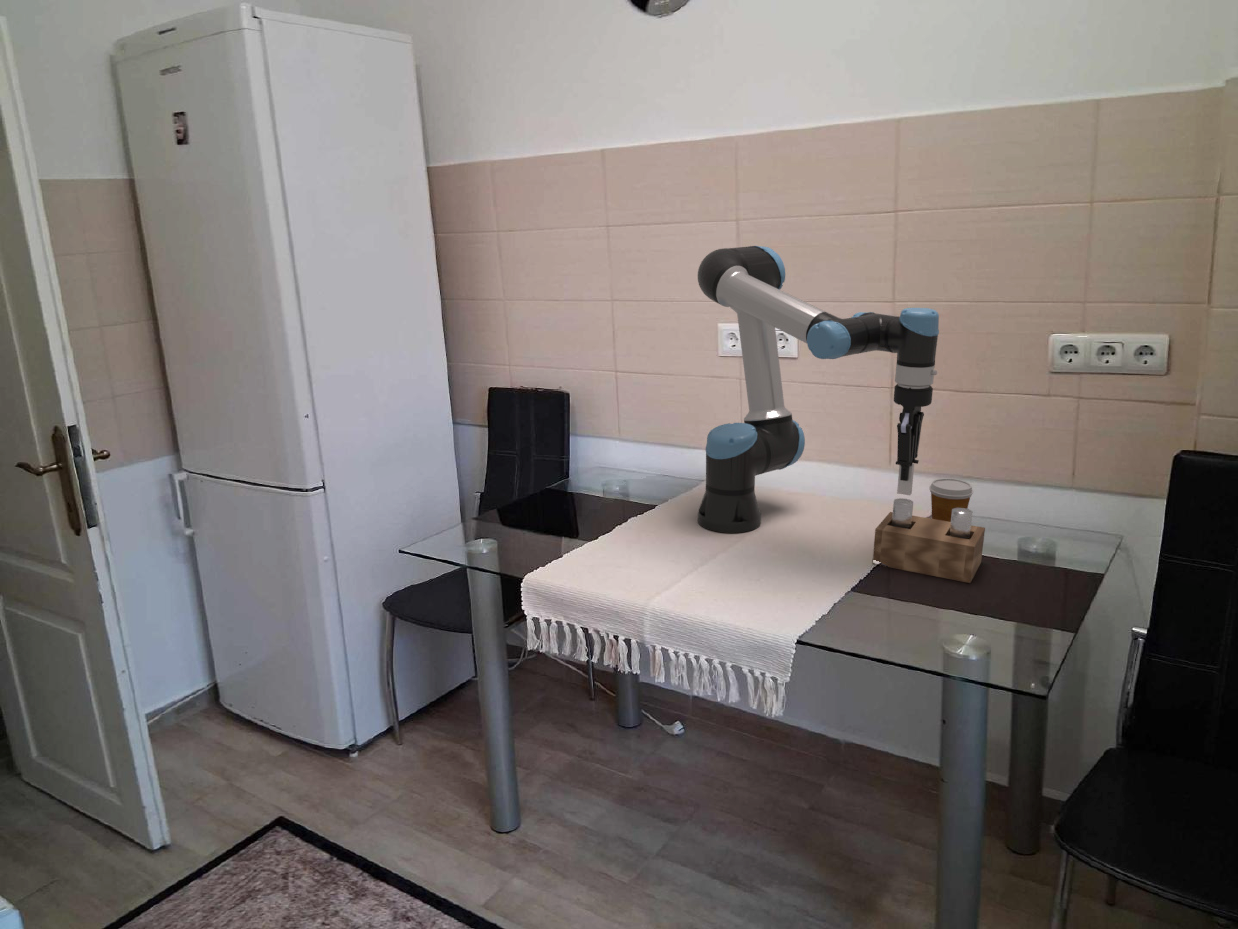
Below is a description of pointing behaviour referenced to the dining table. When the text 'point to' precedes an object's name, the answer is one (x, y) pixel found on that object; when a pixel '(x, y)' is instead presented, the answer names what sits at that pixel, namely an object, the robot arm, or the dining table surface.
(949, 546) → the socket block
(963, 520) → the pin
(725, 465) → the robot arm
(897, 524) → the pin
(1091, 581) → the dining table surface
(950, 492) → the disposable coffee cup
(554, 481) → the dining table surface
